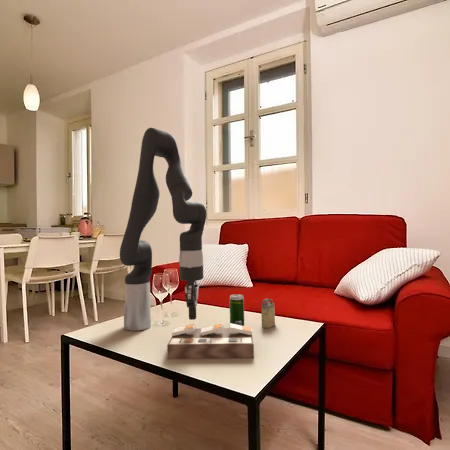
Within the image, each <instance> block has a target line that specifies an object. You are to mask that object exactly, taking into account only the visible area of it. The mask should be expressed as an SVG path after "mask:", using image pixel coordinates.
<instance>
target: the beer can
mask: <svg viewBox="0 0 450 450" xmlns="http://www.w3.org/2000/svg"><path fill="white" fill-rule="evenodd" d="M230 323H232V324H236V325H241V326H245V298H244V295H243V294H238V293H237V294H234V293H233V294H230V296H229V324H230Z"/></svg>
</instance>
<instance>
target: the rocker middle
mask: <svg viewBox="0 0 450 450" xmlns="http://www.w3.org/2000/svg"><path fill="white" fill-rule="evenodd" d="M223 328H224V323H223V322H221V323H217V324H213V325H211V326H206V327H201V328H200V329H201V336H203V335H207V334H211V333H215V332H219V331H223Z"/></svg>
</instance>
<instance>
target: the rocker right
mask: <svg viewBox="0 0 450 450" xmlns="http://www.w3.org/2000/svg"><path fill="white" fill-rule="evenodd" d="M228 328H229V330H230V331H234V332H239V333H244V334H248V335H252V336H253V329H252V327H250V326H246V325H244V326H241V325H236V324H232V323H230V322H229V327H228Z"/></svg>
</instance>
